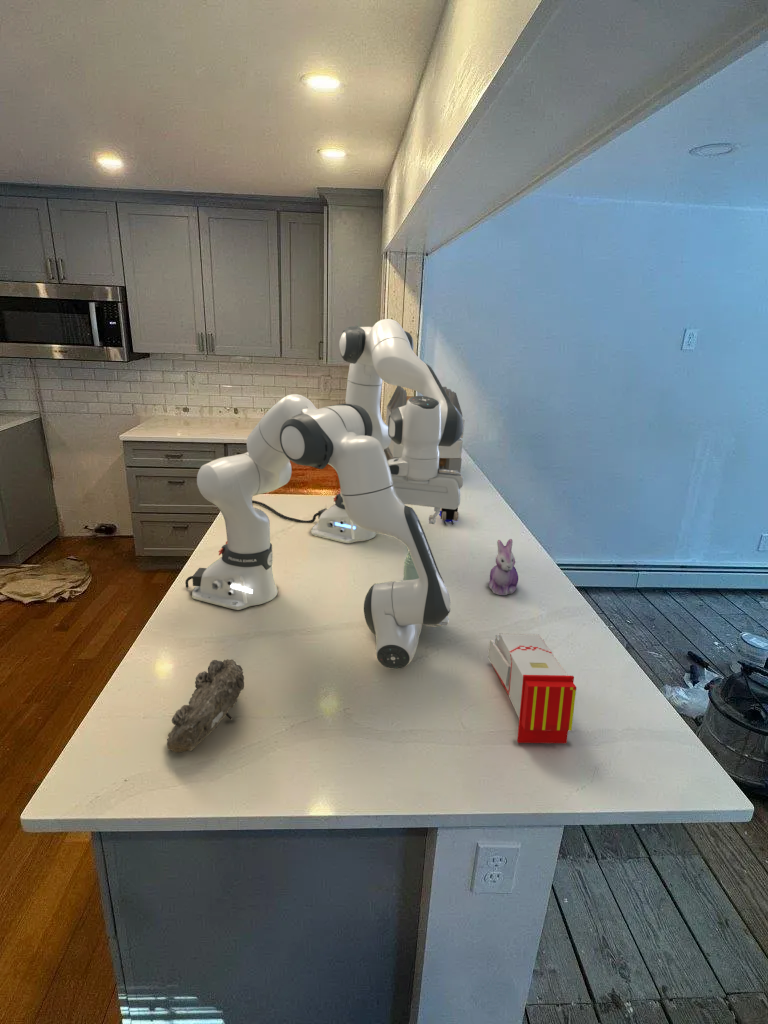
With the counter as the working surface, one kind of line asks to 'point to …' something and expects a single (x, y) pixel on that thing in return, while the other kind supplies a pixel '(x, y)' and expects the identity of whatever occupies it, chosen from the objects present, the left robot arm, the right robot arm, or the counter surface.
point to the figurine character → (449, 515)
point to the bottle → (409, 569)
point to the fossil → (206, 705)
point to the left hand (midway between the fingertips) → (411, 593)
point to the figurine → (504, 571)
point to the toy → (534, 687)
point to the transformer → (447, 455)
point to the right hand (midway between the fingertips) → (416, 521)
